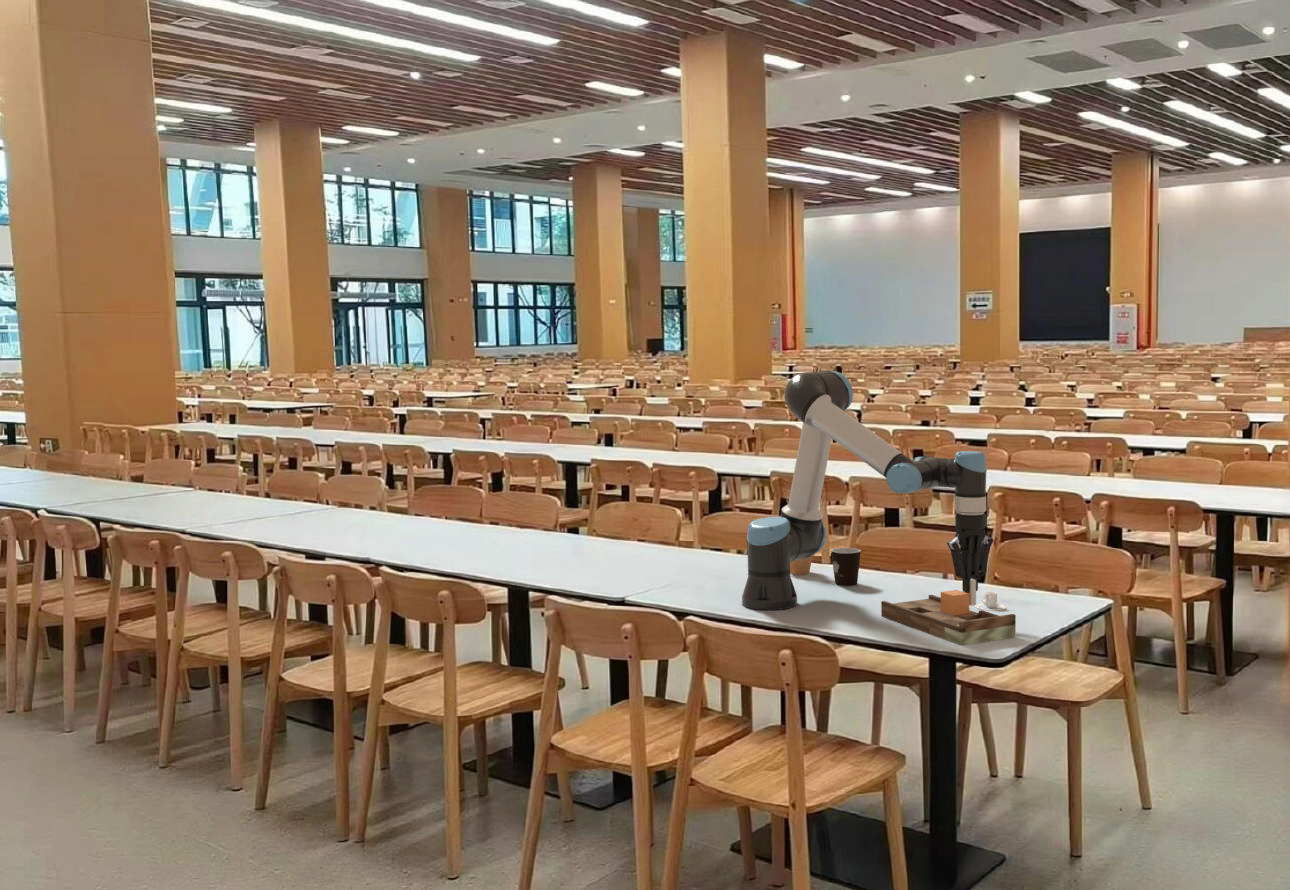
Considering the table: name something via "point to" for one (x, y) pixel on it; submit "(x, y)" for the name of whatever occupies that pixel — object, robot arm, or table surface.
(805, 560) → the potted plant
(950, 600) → the block
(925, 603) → the board
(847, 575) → the coffee mug
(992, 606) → the teacup and saucer
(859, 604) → the table surface
